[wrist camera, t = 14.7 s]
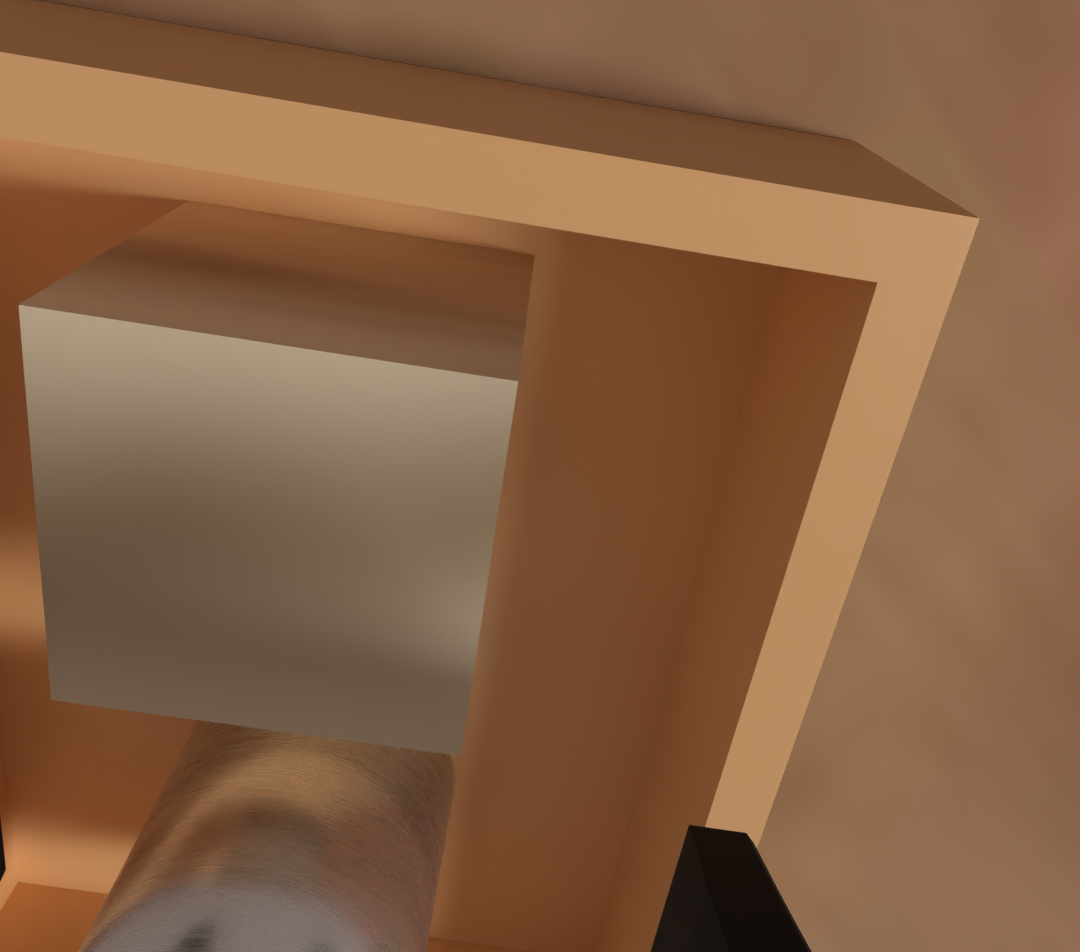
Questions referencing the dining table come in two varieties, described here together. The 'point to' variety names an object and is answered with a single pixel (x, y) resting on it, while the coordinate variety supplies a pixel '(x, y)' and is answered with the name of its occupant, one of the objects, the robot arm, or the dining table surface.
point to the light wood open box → (534, 445)
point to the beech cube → (273, 471)
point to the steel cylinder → (284, 849)
